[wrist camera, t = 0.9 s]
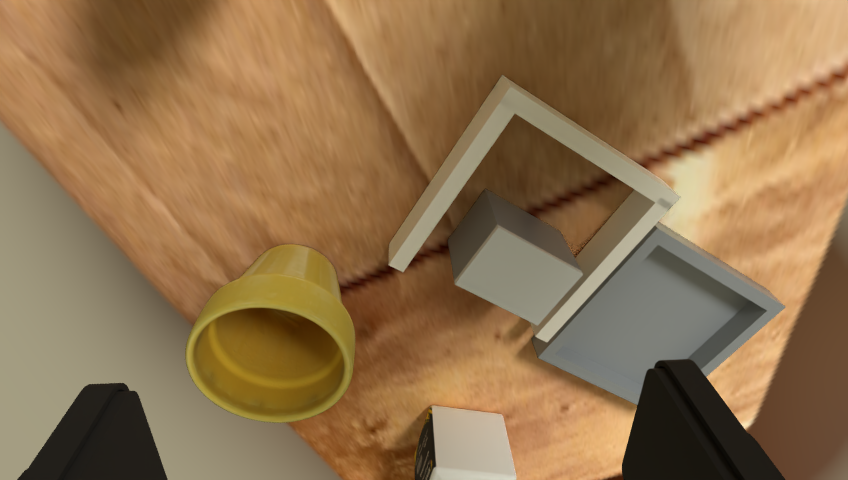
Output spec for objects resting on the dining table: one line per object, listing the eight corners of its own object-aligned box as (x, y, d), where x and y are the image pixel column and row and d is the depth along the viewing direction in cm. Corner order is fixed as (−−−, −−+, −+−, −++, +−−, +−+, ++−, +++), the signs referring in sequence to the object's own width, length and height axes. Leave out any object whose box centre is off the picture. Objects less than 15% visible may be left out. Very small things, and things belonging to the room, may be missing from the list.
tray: (644, 212, 40) (657, 228, 38) (767, 289, 45) (785, 306, 43) (531, 338, 46) (537, 357, 44) (650, 396, 50) (660, 416, 48)
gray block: (485, 188, 39) (498, 227, 34) (559, 230, 41) (583, 274, 36) (447, 239, 41) (454, 284, 36) (520, 278, 43) (537, 325, 38)
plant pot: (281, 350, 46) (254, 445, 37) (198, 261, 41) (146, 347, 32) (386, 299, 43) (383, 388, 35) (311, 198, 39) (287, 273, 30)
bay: (502, 74, 35) (510, 86, 32) (661, 179, 39) (680, 197, 37) (389, 243, 41) (388, 265, 38) (538, 318, 45) (546, 342, 42)
